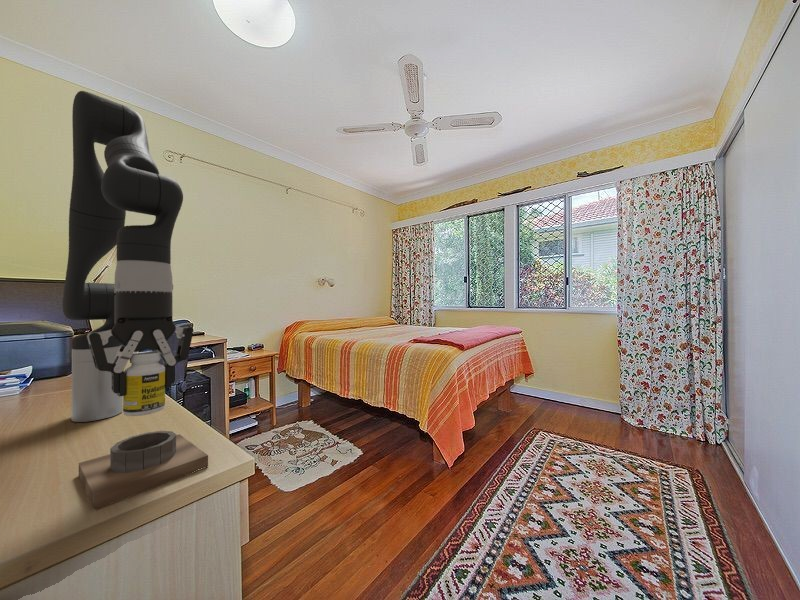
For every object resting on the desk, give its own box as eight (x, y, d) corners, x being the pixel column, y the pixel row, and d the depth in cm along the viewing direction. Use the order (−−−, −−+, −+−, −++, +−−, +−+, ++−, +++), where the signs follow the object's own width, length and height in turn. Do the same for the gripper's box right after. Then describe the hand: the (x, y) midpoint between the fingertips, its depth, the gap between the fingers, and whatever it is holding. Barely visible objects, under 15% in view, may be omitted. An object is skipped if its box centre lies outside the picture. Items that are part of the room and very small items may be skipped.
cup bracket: (78, 475, 51) (78, 444, 51) (179, 444, 62) (179, 419, 62) (93, 510, 42) (93, 473, 42) (208, 466, 53) (208, 437, 53)
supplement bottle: (141, 418, 49) (141, 355, 49) (114, 416, 50) (114, 355, 50) (173, 407, 54) (173, 350, 54) (147, 405, 55) (147, 350, 55)
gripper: (186, 291, 60) (186, 379, 60) (80, 289, 49) (80, 397, 49) (201, 290, 55) (201, 385, 55) (88, 287, 44) (88, 407, 44)
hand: (144, 390), depth 52 cm, fingers closed on supplement bottle, 5 cm apart
